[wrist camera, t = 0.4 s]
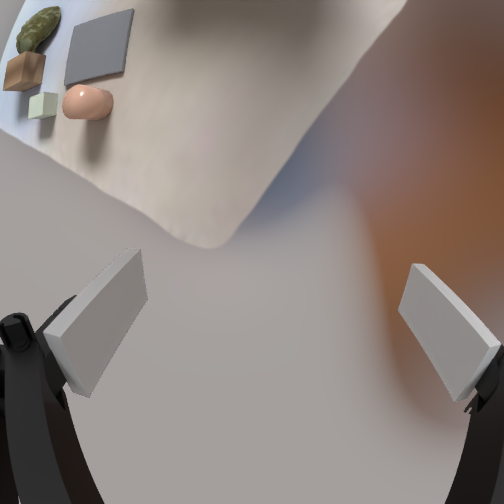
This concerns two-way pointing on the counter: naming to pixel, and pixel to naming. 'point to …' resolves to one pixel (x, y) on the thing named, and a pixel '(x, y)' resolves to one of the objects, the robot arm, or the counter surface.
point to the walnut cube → (24, 71)
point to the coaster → (99, 47)
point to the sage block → (43, 105)
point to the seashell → (37, 29)
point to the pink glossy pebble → (87, 103)
